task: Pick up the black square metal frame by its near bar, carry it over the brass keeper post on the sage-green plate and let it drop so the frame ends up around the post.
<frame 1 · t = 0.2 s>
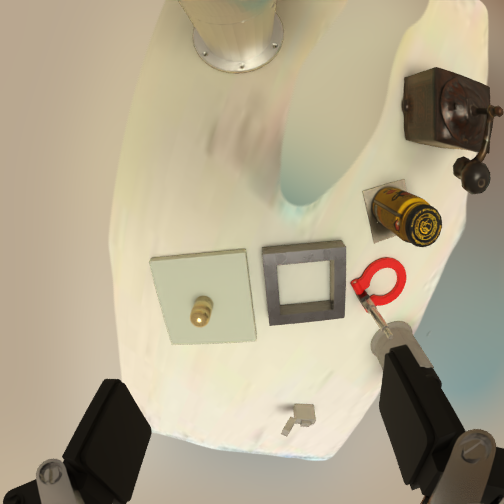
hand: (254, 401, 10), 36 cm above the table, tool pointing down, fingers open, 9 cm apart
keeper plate: (205, 299, 49), on the table
condiment: (388, 210, 43), on the table
square metal frame: (304, 279, 48), on the table
glass holder: (385, 350, 53), on the table
tow hook: (379, 281, 48), on the table
keeper post: (204, 303, 48), resting on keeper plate
manual coffee grinder: (429, 128, 38), on the table
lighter: (296, 405, 58), on the table
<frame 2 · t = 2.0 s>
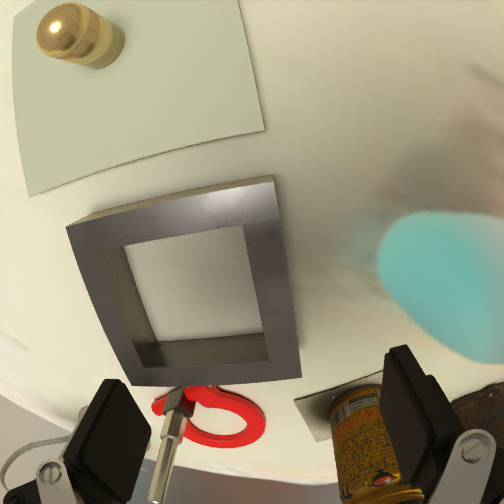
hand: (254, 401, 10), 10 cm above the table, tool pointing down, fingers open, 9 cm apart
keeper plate: (114, 51, 14), on the table
condiment: (351, 406, 23), on the table
square metal frame: (194, 285, 19), on the table
glass holder: (93, 423, 27), on the table
tow hook: (215, 413, 24), on the table
keeper post: (102, 46, 13), resting on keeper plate
manual coffee grinder: (455, 420, 24), on the table
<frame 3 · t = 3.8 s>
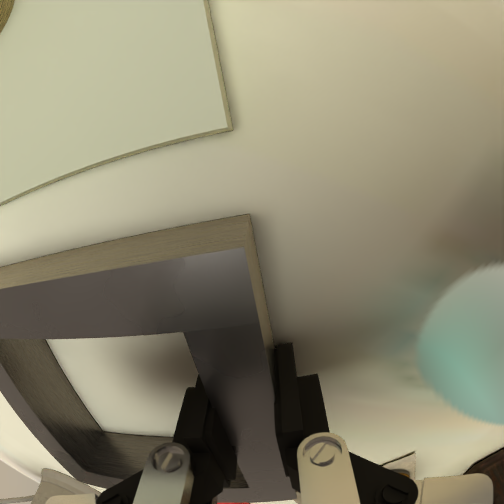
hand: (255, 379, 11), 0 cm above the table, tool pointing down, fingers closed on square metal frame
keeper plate: (11, 27, 6), on the table
condiment: (357, 489, 15), on the table
square metal frame: (136, 379, 11), on the table, touching gripper
glass holder: (58, 482, 18), on the table
manual coffee grinder: (472, 476, 17), on the table
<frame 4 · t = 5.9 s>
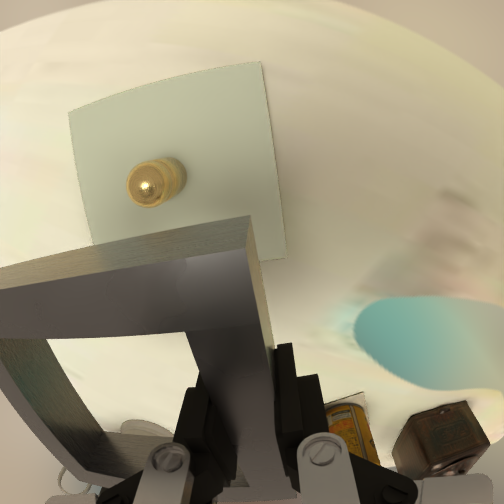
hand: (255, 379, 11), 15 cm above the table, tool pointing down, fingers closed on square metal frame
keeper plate: (173, 175, 23), on the table
condiment: (333, 417, 32), on the table
square metal frame: (137, 379, 12), point 15 cm above the table, touching gripper
glass holder: (132, 432, 35), on the table
keeper post: (167, 177, 22), resting on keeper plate
manual coffee grinder: (415, 430, 34), on the table
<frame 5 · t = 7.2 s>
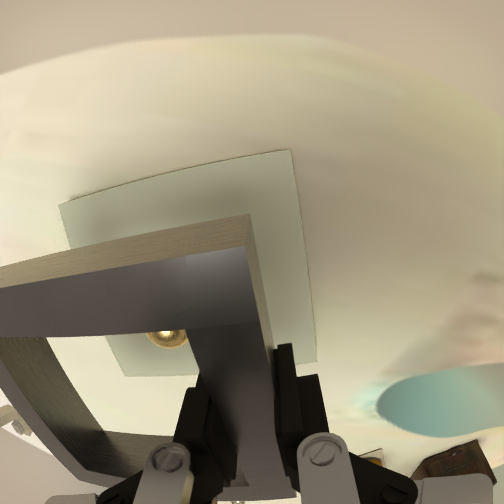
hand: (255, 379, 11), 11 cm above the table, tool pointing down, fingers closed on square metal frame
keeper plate: (190, 279, 21), on the table
condiment: (352, 468, 30), on the table
square metal frame: (137, 378, 12), point 10 cm above the table, touching gripper
keeper post: (185, 289, 20), resting on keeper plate
manual coffee grinder: (428, 467, 31), on the table
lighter: (30, 396, 29), on the table
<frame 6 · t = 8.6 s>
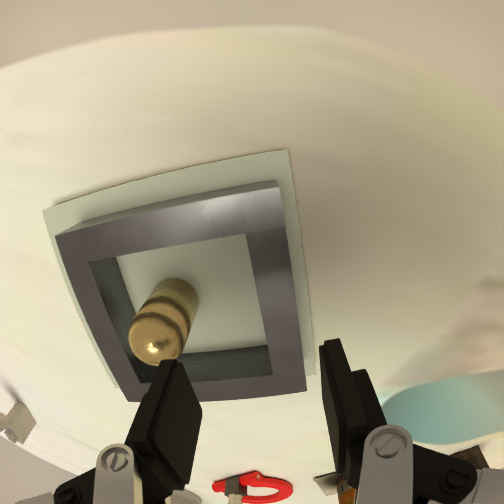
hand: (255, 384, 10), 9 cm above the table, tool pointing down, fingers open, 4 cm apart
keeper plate: (181, 288, 20), on the table
condiment: (351, 476, 29), on the table
square metal frame: (192, 297, 18), point 1 cm above the table, touching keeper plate
glass holder: (153, 490, 32), on the table
tow hook: (256, 486, 30), on the table
keeper post: (175, 299, 18), resting on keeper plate
manual coffee grinder: (428, 473, 30), on the table
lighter: (23, 404, 27), on the table
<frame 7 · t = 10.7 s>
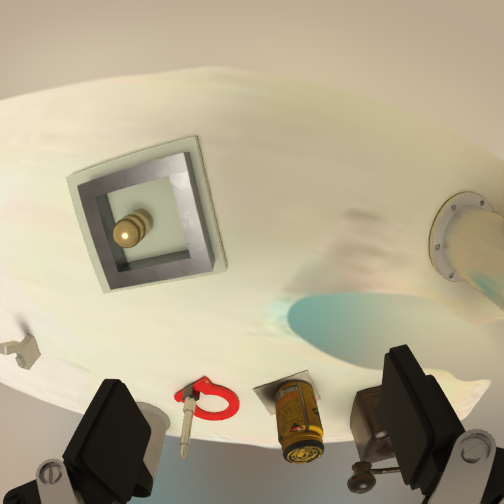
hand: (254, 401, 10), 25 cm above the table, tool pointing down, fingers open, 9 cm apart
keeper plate: (144, 218, 33), on the table
condiment: (287, 392, 43), on the table
square metal frame: (149, 219, 32), point 1 cm above the table, touching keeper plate
glass holder: (131, 414, 45), on the table
tow hook: (210, 399, 43), on the table
keeper post: (140, 222, 32), resting on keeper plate
manual coffee grinder: (366, 405, 45), on the table
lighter: (32, 337, 40), on the table
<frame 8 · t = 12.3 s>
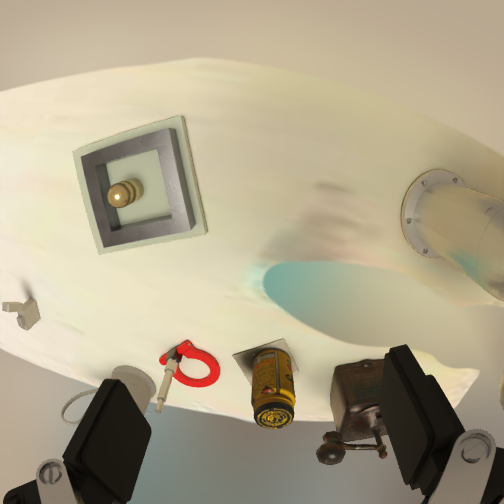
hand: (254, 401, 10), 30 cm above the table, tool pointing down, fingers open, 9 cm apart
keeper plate: (137, 187, 37), on the table
condiment: (266, 362, 47), on the table
square metal frame: (140, 187, 36), point 1 cm above the table, touching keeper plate
glass holder: (120, 379, 49), on the table
tow hook: (193, 364, 47), on the table
keeper post: (133, 189, 36), resting on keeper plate
manual coffee grinder: (346, 383, 48), on the table
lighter: (33, 301, 45), on the table
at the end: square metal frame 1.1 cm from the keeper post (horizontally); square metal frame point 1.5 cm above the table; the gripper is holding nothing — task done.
